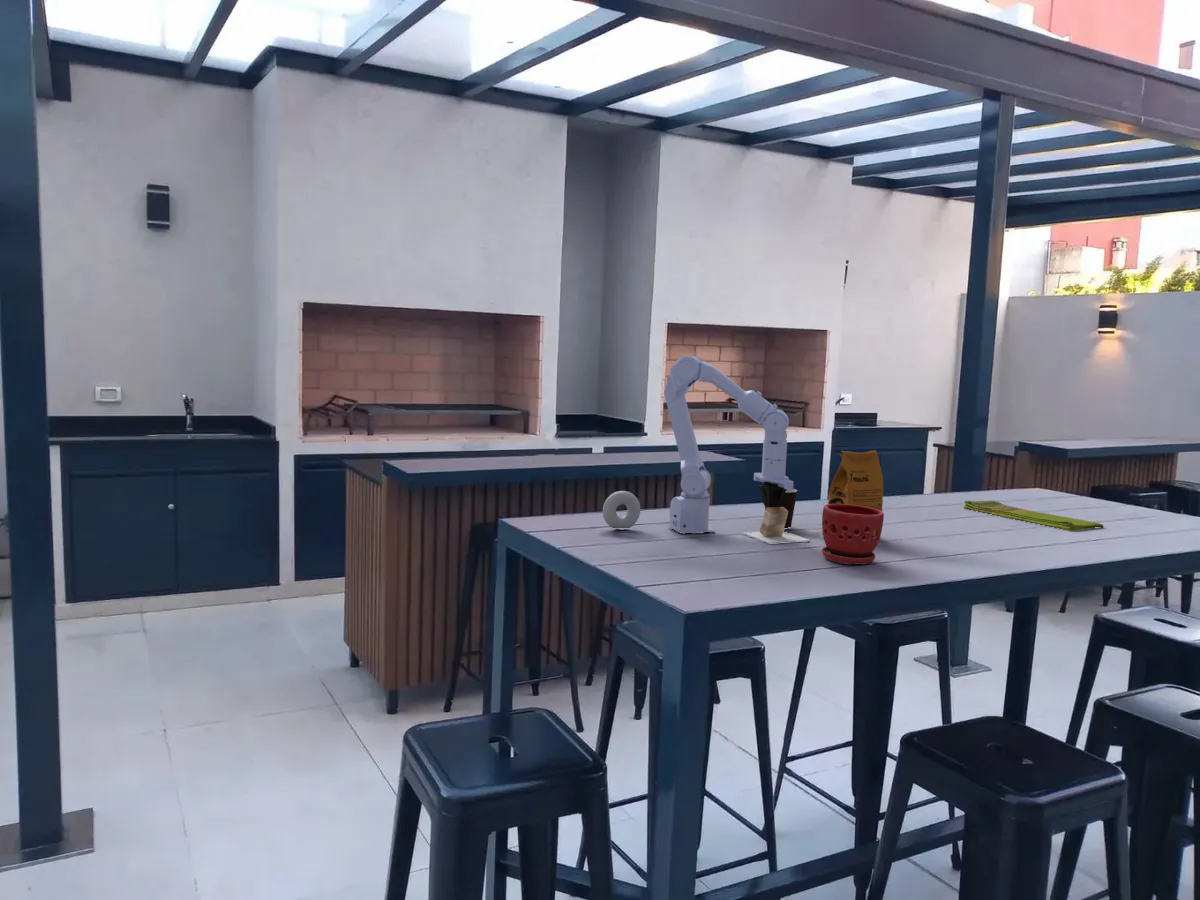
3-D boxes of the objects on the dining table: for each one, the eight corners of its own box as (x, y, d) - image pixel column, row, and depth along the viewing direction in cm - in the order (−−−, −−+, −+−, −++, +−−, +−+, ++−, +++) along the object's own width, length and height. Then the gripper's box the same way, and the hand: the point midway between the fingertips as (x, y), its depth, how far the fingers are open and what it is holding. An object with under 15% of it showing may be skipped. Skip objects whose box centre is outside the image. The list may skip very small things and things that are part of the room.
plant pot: (839, 569, 198) (843, 514, 196) (809, 555, 210) (812, 503, 209) (892, 566, 201) (896, 512, 200) (859, 553, 214) (862, 502, 213)
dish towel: (995, 507, 288) (996, 497, 288) (1104, 529, 257) (1105, 518, 256) (961, 510, 281) (962, 500, 280) (1069, 533, 249) (1070, 521, 249)
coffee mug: (798, 531, 237) (800, 492, 236) (764, 530, 237) (766, 491, 236) (789, 522, 249) (791, 485, 248) (757, 521, 249) (759, 484, 248)
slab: (764, 537, 226) (771, 512, 223) (759, 532, 228) (766, 507, 225) (781, 536, 228) (788, 511, 225) (776, 531, 230) (783, 506, 227)
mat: (768, 544, 220) (768, 542, 220) (742, 534, 231) (742, 532, 231) (810, 541, 224) (810, 540, 224) (782, 531, 235) (782, 530, 235)
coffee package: (820, 534, 234) (825, 448, 232) (861, 532, 238) (866, 448, 236) (842, 542, 225) (848, 453, 222) (885, 540, 229) (891, 452, 227)
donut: (636, 528, 234) (638, 489, 233) (641, 530, 231) (643, 491, 230) (599, 529, 231) (601, 490, 230) (604, 532, 228) (606, 492, 226)
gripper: (805, 462, 221) (802, 518, 223) (771, 455, 234) (768, 507, 236) (780, 463, 218) (777, 519, 220) (747, 455, 232) (745, 508, 233)
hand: (771, 513), depth 228 cm, fingers closed
